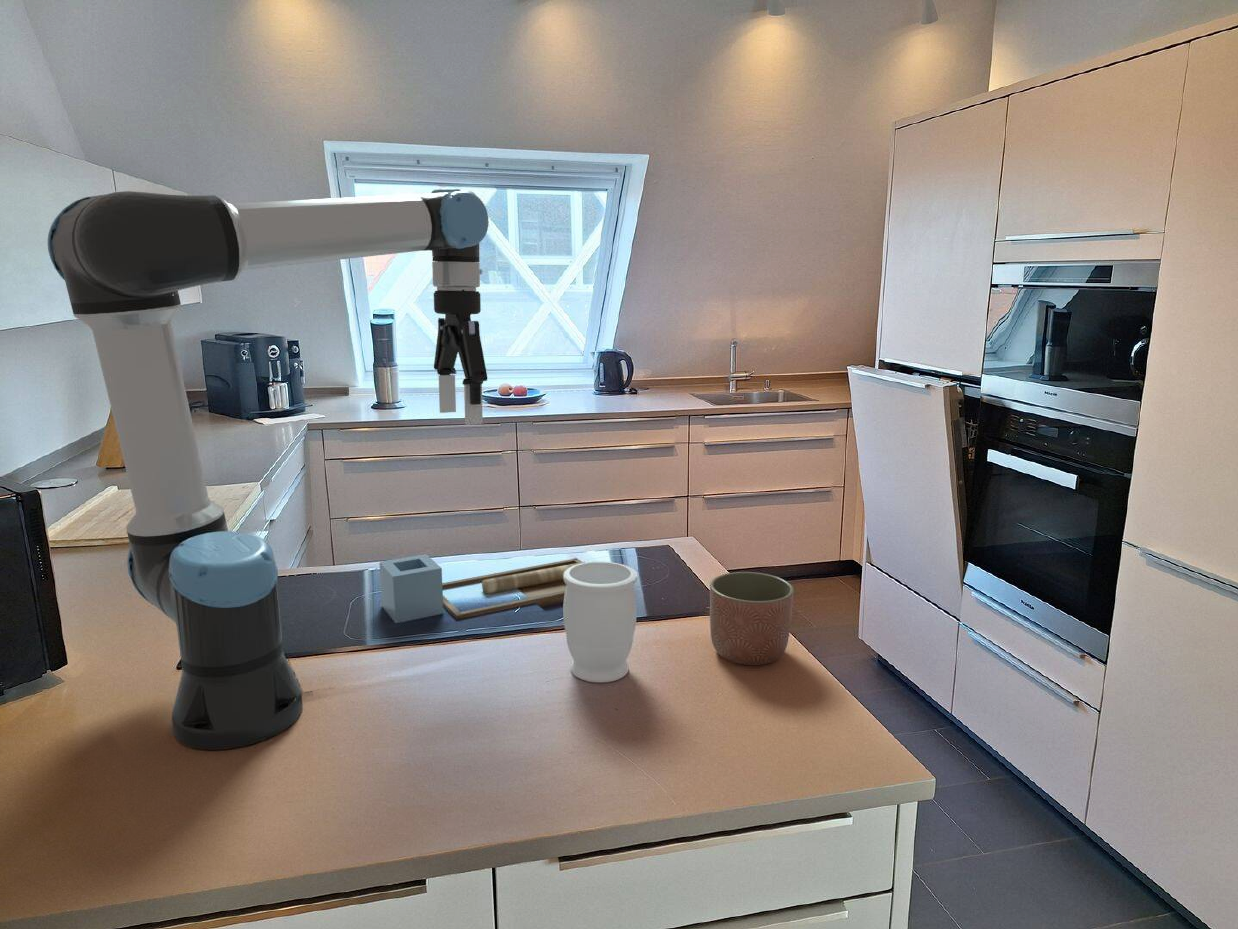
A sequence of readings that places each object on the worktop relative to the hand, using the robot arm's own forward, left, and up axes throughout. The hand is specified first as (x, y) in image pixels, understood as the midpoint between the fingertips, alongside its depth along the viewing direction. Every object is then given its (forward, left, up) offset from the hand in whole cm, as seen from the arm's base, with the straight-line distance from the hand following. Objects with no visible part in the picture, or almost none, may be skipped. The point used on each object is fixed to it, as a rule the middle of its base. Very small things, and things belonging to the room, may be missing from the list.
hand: (460, 418), depth 138 cm
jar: (-36, -7, -33) cm, 49 cm away
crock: (-3, +11, -32) cm, 34 cm away
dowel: (-4, -3, -32) cm, 32 cm away
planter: (-42, -29, -33) cm, 61 cm away
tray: (-3, -9, -32) cm, 34 cm away
